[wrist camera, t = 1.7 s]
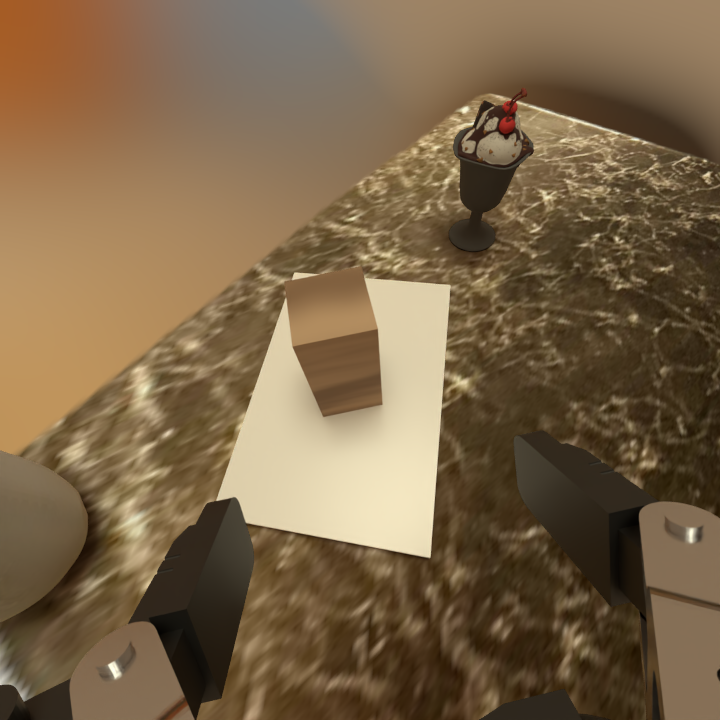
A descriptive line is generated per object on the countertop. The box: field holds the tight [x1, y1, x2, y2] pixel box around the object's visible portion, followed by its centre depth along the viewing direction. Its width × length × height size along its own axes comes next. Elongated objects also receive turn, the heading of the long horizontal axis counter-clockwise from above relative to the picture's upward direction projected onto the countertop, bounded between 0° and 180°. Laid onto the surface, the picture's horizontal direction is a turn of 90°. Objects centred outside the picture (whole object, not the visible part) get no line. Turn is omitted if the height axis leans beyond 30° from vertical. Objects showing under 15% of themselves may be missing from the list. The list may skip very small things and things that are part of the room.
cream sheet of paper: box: [216, 273, 450, 558], centre depth 33 cm, size 24×16×1 cm, turn 170°
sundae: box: [449, 88, 534, 251], centre depth 34 cm, size 7×7×15 cm
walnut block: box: [284, 266, 383, 417], centre depth 27 cm, size 5×5×11 cm
